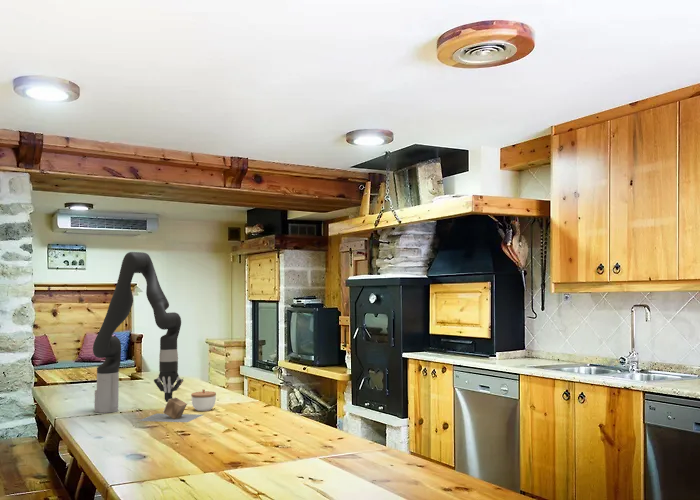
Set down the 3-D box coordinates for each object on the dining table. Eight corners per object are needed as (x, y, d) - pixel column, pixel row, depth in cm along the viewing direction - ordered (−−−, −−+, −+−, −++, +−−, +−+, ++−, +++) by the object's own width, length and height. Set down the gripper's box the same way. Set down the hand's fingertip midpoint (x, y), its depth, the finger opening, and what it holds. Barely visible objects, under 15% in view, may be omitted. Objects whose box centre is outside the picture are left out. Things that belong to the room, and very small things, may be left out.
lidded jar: (218, 408, 297) (218, 387, 298) (211, 413, 287) (211, 391, 287) (195, 408, 298) (195, 387, 299) (187, 412, 288) (187, 391, 288)
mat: (137, 421, 269) (137, 420, 269) (156, 414, 285) (156, 413, 285) (187, 423, 265) (187, 422, 265) (203, 415, 281) (203, 414, 281)
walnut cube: (168, 399, 273) (180, 406, 271) (175, 397, 279) (187, 403, 277) (162, 412, 273) (174, 419, 272) (169, 409, 279) (181, 416, 277)
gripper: (149, 360, 274) (149, 402, 273) (179, 361, 272) (179, 403, 271) (158, 359, 282) (158, 399, 281) (187, 359, 279) (187, 400, 278)
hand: (168, 401), depth 276 cm, fingers closed
